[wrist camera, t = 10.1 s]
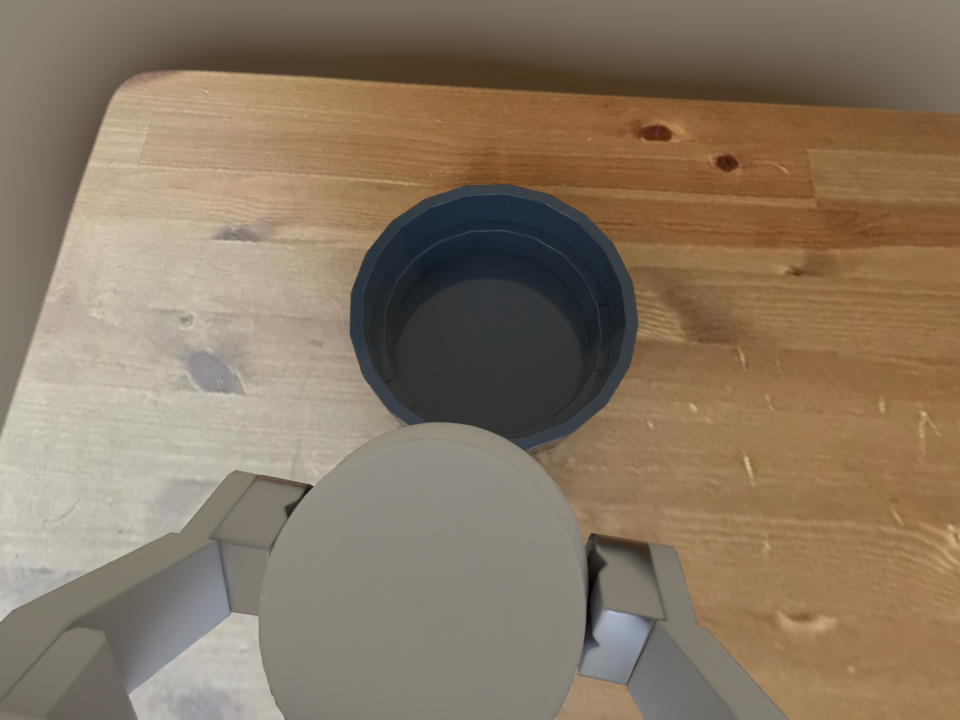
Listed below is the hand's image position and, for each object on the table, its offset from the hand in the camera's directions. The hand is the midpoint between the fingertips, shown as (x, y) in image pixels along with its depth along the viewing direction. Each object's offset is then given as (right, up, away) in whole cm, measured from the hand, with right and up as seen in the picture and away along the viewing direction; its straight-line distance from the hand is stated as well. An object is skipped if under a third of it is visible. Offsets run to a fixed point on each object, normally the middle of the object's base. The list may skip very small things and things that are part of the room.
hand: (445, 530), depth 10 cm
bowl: (+1, +4, +19) cm, 20 cm away
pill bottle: (0, -2, +5) cm, 5 cm away
